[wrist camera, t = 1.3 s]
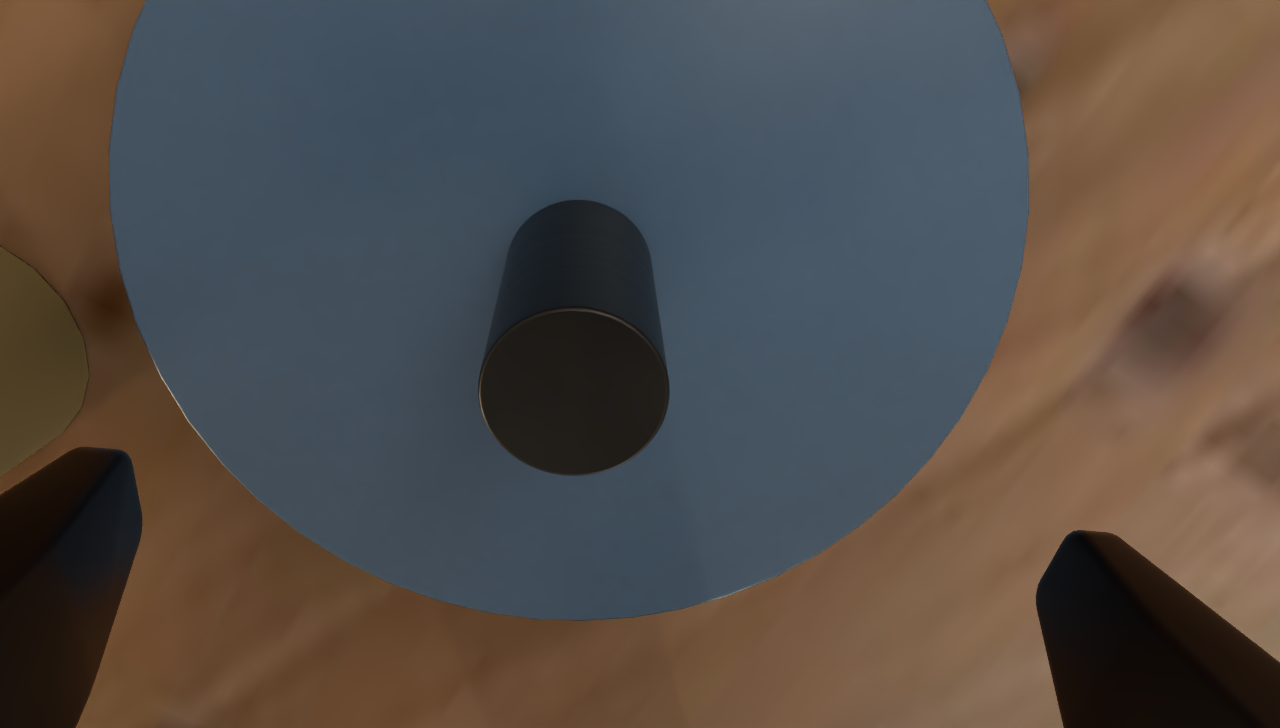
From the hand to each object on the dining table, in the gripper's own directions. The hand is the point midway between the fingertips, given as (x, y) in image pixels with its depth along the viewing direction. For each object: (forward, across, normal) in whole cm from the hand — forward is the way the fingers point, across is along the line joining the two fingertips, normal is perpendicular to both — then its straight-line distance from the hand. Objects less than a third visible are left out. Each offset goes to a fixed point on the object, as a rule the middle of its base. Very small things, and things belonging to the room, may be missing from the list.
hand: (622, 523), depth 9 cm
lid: (+8, 0, +2) cm, 8 cm away
